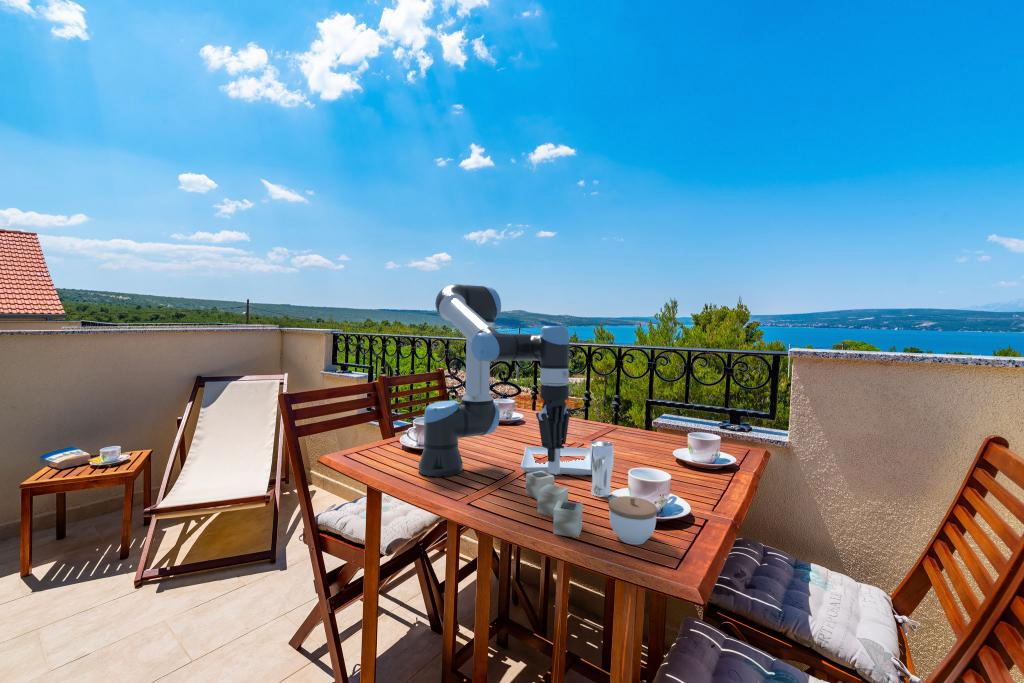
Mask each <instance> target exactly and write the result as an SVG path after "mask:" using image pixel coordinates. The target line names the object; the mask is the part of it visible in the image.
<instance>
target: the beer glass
mask: <svg viewBox="0 0 1024 683" xmlns="http://www.w3.org/2000/svg"><path fill="white" fill-rule="evenodd" d="M589 448H590V467H591V473H592V475H591V482H592V483H591V490H590V495H591V496H593V495H594V496H593V497H596V496H597V497H596V498H600V497H607V496H608V495H609V494H610V493H612V487H611V480H612V474H613V469H614V461H615V460H614V458H615V457H614V456H615V455H614V452H615V451H614V443H612V442H610V441H605V440H593V441H591V442H590V447H589ZM607 498H608V497H607Z"/></svg>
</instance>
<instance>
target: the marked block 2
mask: <svg viewBox="0 0 1024 683" xmlns="http://www.w3.org/2000/svg"><path fill="white" fill-rule="evenodd" d="M583 505H584V504H583V503H582V502H574V501H569V500H568V501H561V500H558V502H557V504H556V506H555V508H554V516H553V517H552V518H553V523H552V525H553V532H552V534H553V535H558V536H563V537H564V536H565V537H570V536H572V537H571V538H576V537H578V539H579V538H580V536H579V535H581V533H582V528H583Z"/></svg>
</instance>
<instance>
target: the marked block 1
mask: <svg viewBox="0 0 1024 683" xmlns="http://www.w3.org/2000/svg"><path fill="white" fill-rule="evenodd" d="M547 484H552V485H555V476H554V474H548V473H546V472H544V471H537V472H532V473H530V472H526V473H525V494H527V495H528V494H529V495H528V496H530V497H531V498H533V497H534V499H535V500H537V501H538V490H539V489H541V488H542V487H544V486H545V485H547Z"/></svg>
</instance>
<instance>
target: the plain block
mask: <svg viewBox="0 0 1024 683" xmlns="http://www.w3.org/2000/svg"><path fill="white" fill-rule="evenodd" d="M558 500H561V501H569V488H568V487H564V486H559V485H555V484H554V485H552V484H547V485H545V486H544V487H542V488H541V489H539V490H538V500H537V508H536V509H537V514H540V515H544V516H547V515H548V517H551V516H552V518H553V516H554V508H555V506H556V504H557V502H558Z"/></svg>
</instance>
